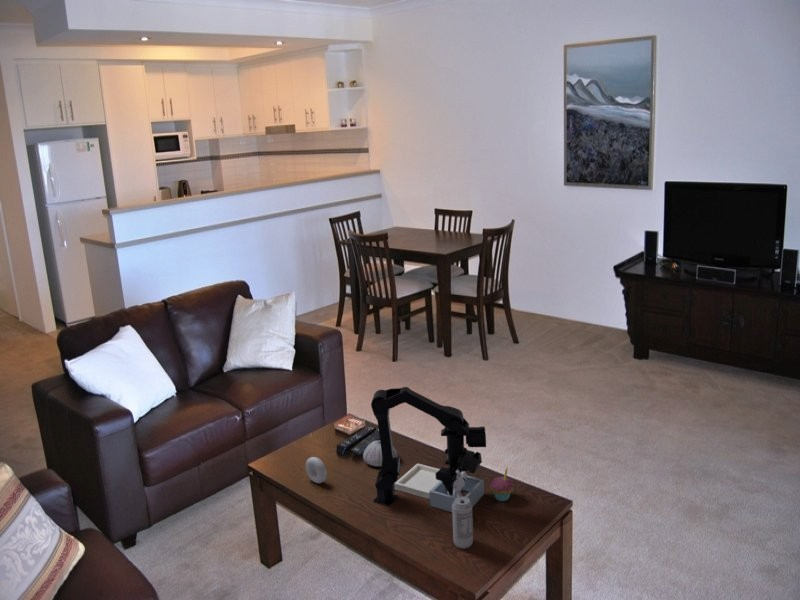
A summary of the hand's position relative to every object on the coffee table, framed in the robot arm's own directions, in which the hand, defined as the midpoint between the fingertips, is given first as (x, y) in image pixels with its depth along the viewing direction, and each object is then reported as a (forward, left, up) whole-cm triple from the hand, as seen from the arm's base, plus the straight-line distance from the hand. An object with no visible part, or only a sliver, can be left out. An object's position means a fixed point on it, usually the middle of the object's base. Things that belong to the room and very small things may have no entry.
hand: (456, 487), depth 233 cm
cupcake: (+8, -13, -5) cm, 16 cm away
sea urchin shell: (+11, +39, -5) cm, 41 cm away
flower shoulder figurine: (0, 0, -5) cm, 5 cm away
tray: (+4, +16, -5) cm, 17 cm away
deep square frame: (0, 0, -5) cm, 5 cm away
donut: (-13, +51, -5) cm, 53 cm away
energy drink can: (-21, -13, -5) cm, 25 cm away
